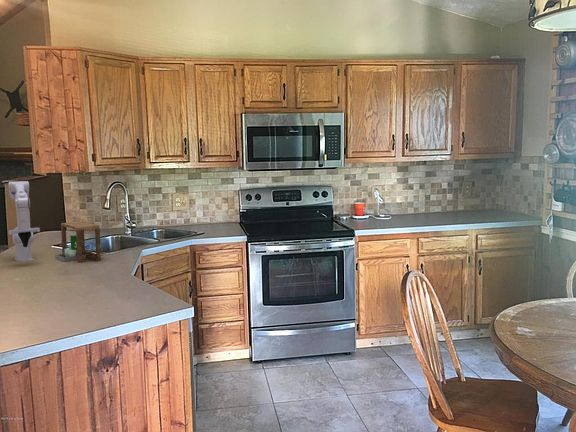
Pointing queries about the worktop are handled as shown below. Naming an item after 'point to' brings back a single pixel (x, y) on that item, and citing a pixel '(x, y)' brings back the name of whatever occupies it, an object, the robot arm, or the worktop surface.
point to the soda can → (73, 241)
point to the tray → (62, 257)
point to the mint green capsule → (72, 253)
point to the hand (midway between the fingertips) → (25, 246)
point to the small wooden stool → (82, 239)
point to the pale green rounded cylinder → (67, 252)
